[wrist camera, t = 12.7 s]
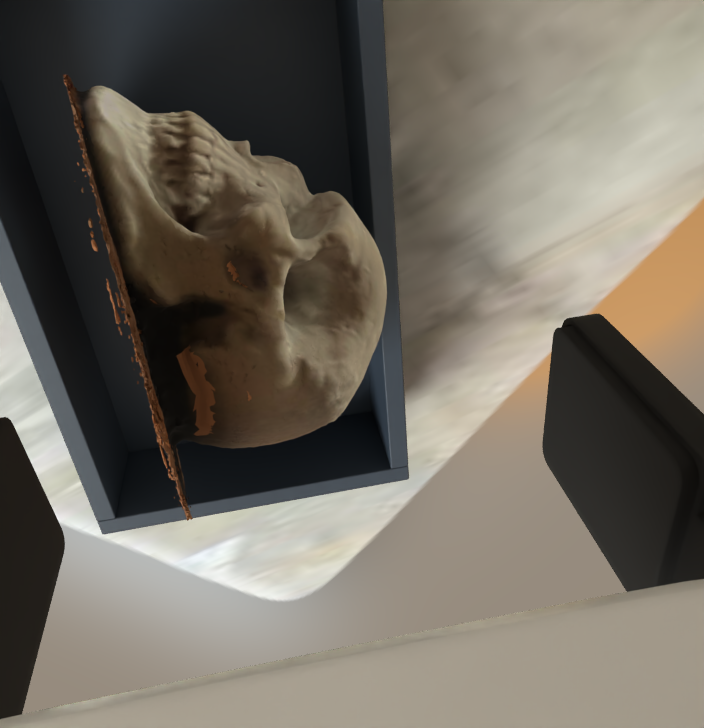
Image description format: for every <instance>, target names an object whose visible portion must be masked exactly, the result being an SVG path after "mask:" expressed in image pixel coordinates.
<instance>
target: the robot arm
mask: <svg viewBox="0 0 704 728" xmlns="http://www.w3.org/2000/svg"><path fill="white" fill-rule="evenodd" d="M543 454H544V458H545V460H546V463H547V465H548V466H549V468H550V470H551V471H552V473H553V474H554V476H555V478H556V479H557V481H558V482H559V484H560V486H561V487H562V489H563V490H564V492H565V494H566V495H567V497H568V498H569V500H570V501H571V503H572V504H573V506H574V508H575V509H576V511H577V513H578V514H579V516H580V517H581V519H582V521H583V522H584V524H585V525H586V527H587V529H588V530H589V532H590V533H591V535H592V536H593V538H594V540H595V541H596V543H597V545H598V546H599V548H600V549H601V551H602V553H603V554H604V556H605V557H606V559H607V561H608V562H609V564H610V565H611V567H612V569H613V570H614V572H615V573H616V575H617V577H618V578H619V580H620V581H621V583H622V585H623V586H624V588H625V589H626V591H627V592H623V593H618V594H613V595H607V596H601V597H595V598H590V599H585V600H580V601H575V602H569V603H565V604H560V605H554V606H550V607H544V608H539V609H534V610H529V611H524V612H518V613H513V614H509V615H503V616H498V617H494V618H488V619H483V620H478V621H473V622H468V623H463V624H457V625H453V626H447V627H442V628H437V629H433V630H427V631H422V632H417V633H412V634H407V635H402V636H397V637H392V638H387V639H383V640H378V641H372V642H367V643H363V644H358V645H353V646H348V647H343V648H338V649H333V650H328V651H323V652H318V653H313V654H308V655H304V656H299V657H294V658H288V659H284V660H279V661H274V662H269V663H264V664H259V665H254V666H250V667H244V668H239V669H234V670H230V671H225V672H220V673H215V674H211V675H205V676H201V677H196V678H191V679H186V680H181V681H177V682H172V683H167V684H162V685H157V686H153V687H148V688H143V689H138V690H134V691H128V692H124V693H119V694H114V695H109V696H104V697H100V698H95V699H90V700H85V701H80V702H76V703H71V704H66V705H62V706H57V707H53V708H48V709H44V710H39V711H35V712H31V713H26V714H22V711H23V708H24V704H25V700H26V696H27V692H28V688H29V684H30V680H31V676H32V673H33V669H34V665H35V661H36V658H37V654H38V649H39V646H40V642H41V638H42V635H43V631H44V627H45V623H46V619H47V615H48V612H49V608H50V604H51V600H52V596H53V592H54V588H55V585H56V581H57V577H58V573H59V569H60V565H61V562H62V558H63V554H64V547H65V542H64V535H63V531H62V528H61V526H60V524H59V522H58V520H57V518H56V516H55V513H54V511H53V509H52V507H51V505H50V503H49V501H48V498H47V496H46V494H45V492H44V490H43V488H42V486H41V483H40V481H39V479H38V477H37V475H36V473H35V471H34V468H33V466H32V464H31V462H30V460H29V458H28V456H27V453H26V451H25V449H24V447H23V445H22V443H21V441H20V438H19V436H18V434H17V432H16V430H15V428H14V426H13V424H12V422H11V420H9V419H8V418H6V417H3V418H0V728H704V414H703V413H702V412H701V411H700V410H699V409H698V408H697V407H696V406H694V404H692V402H691V401H690V400H688V399H687V398H686V397H685V396H684V395H683V394H682V393H681V392H680V391H679V390H678V389H677V388H676V387H675V386H674V385H673V384H672V383H671V382H670V381H669V380H668V379H667V378H666V377H665V376H664V375H663V374H662V373H661V372H660V371H659V370H658V369H657V368H656V367H655V366H654V365H653V364H652V363H650V362H649V361H648V360H647V359H646V358H645V357H644V356H643V355H642V354H641V353H640V352H639V351H638V350H637V349H636V348H635V347H634V346H633V345H632V344H631V343H630V342H629V341H628V340H627V339H626V338H625V337H624V336H623V335H622V334H621V333H620V332H619V331H618V330H617V329H616V328H615V327H614V326H612V325H611V324H610V323H609V322H608V321H607V320H606V319H605V318H604V317H603V316H602V315H600V314H591V315H585V316H579V317H573V318H567V319H566V320H565V321H564V323H563V325H562V327H561V328H557V329H556V330H555V332H554V335H553V344H552V354H551V364H550V374H549V384H548V395H547V405H546V414H545V424H544V435H543Z"/></svg>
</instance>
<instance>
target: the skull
mask: <svg viewBox="0 0 704 728" xmlns="http://www.w3.org/2000/svg"><path fill="white" fill-rule="evenodd" d="M63 77H64V84H65V85H66V87H67V91H68V95H69V99H70V103H71V107H72V111H73V115H74V125H75V127H74V128H75V129H76V130H77V133H78V134H79V137H80V139H81V143H80V140H78V142H79V143H80V145H79V146H80V148H81V150H83V154H82V156H83V158H84V160H83V162H84V165H85V166H86V167H87V168H86V169H85V168H83V169H82V171H87V172H88V175H89V176H90V179H89V183H90V185H91V186H92V188H93V191H92V192H94V196H95V197H96V202H95V203H96V206H97V207H98V208H97V211H98V214H99V216H100V221H99V223H100V224H101V230H102V231H103V238H104V240H105V242H106V247H107V249H108V253H109V260H110V264H111V266H112V269H113V271H114V273H115V276H116V280H117V284H118V289H119V291H120V295H121V301H122V303H123V306H122V305H121V302H120V298H119V296H118V293H116V296H117V302H118V306H119V307H122V308H124V309H125V311H121V312H122V314H123V312H124V314H125V318H126V321H125V320H124V323H125V324H126V323H127V322H128V325H129V326H130V331H131V333H132V334H131V336H132V337H133V343H134V345H135V346H134V350H135V353H136V354H135V355H134V356H135V357H136V361H137V362H139V364H140V368H141V370H142V373H139V374H140V376H143V378H144V387H145V389H146V391H147V395H148V396H147V397H148V400H149V403H150V409H151V411H152V420H153V423H154V428H155V431H156V432H155V433H156V434H157V435H158V436H156V437H157V442H158V444H159V447H160V451H161V454H162V458H163V461H164V464H165V466H166V469H167V468H168V466H167V462H166V458H165V456H164V453H163V449H162V448H164V451H165V454H166V455H167V457H168V459H167V460H168V461H169V466H170V467H171V471H172V472H171V474H172V475H173V477H172V475H171V474H170V469H168V476H169V478H172V479H171V480H175V481H176V484H177V486H176V488H177V491H178V494H179V497H180V500H179V502H181V504H182V506H183V507H182V509H184V512H185V516H186V517H187V520H189V519H192V516H191V514H190V512H191V511H190V510H189V508H188V504H187V498H188V500H189V497H186V491H185V482H184V479H183V478H184V477H183V474H182V470H181V466H180V461H179V456H178V453H177V451H178V450H177V448H176V444H177V443H179V442H180V441H182V440H188V441H193V442H196V443H198V444H202V445H212V446H216V447H221V448H231V449H233V448H247V447H258V446H264V445H271V444H276V443H280V442H283V441H287V440H291V439H295V438H298V437H300V436H303V435H305V434H308V433H311V432H313V431H315V430H317V429H318V428H320V427H322V426H325V425H327V424H328V423H330V422H333V421H335V420H336V419H337V418H338V417H339V416H340V415H341V413H342V412H344V410H345V409H346V407H347V406H348V404H349V402H350V401H351V399H352V397H353V396H354V394H355V392H356V390H357V389H358V387H359V385H360V383H361V382H362V380H363V378H364V375H365V372H366V370H367V367H368V365H369V362H370V360H371V357H372V355H373V353H374V351H375V348H376V346H377V343H378V341H379V338H380V335H381V331H382V328H383V322H384V316H385V308H386V299H387V285H386V276H385V270H384V265H383V261H382V257H381V255H380V252H379V250H378V247H377V246H376V243H375V241H374V239H373V238H372V236H371V234H370V233H369V231H368V230H367V229H366V227H365V226H364V225H363V223H362V221H361V220H360V218H359V217H358V216H357V214H356V212H355V211H354V210H353V208H352V207H351V206H350V204H349V203H348V202H347V201H346V199H345V198H344V197H343V196H341V195H340V194H339V193H337V192H333V191H328V192H325V193H317V194H315V195H312V194H311V193H310V192H309V191H308V188H307V186H306V184H305V181H304V178H303V176H302V173H301V171H300V170H299V168H298V167H297V166H296V165H293V164H292V163H291V162H287V161H285V160H284V159H281V158H278V157H274V156H258V155H257V156H252V155H251V153H250V144H249V142H248V141H247V140H246V141H228V140H227V139H225V138H224V137H223V136H222V135H221V134H220V133H219V132H218V131H217V130H216V129H215V128H214V127H212V126H211V125H210V124H209V123H208V122H206V121H205V120H204V119H203V118H201V117H200V116H198V115H197V114H195V113H193V112H191V111H183V112H178V113H174V112H171V113H155V114H153V113H146V112H145V111H143V110H142V109H140V108H139V107H138V106H136V105H135V104H133V103H132V102H131V101H129V100H128V99H126V98H124V97H123V96H122V95H120V94H119V93H117V92H115V91H113V90H112V89H109V88H106V87H104V86H94V87H91V89H88V90H87V91H84V92H82V91H76V90H77V88H76V87H74V85H73V82H72V80H71V78H70V77H69V76H68V75H67V74H64V75H63ZM77 164H78V166H79V163H78V162H77ZM85 177H86V175H85ZM74 182H75V181H74ZM83 189H84V188H83V187H82V189H81V191H82V193H84V192H83ZM88 223H89V227H90V228H92V227H93V224H92V220H91V219H90V218H89V220H88ZM90 235H91V237H92V238H93V237H94V233H93V232H92V231H91V233H90ZM91 243H92V248H93V249H94V250H95V251H97V252H98V247H97V245H96V242H95V241H94V240H93V239H92V240H91ZM106 280H107V290H108V291H109V292H110V300H111V302H112V304H113V309H114V313H115V319H116V323H117V324H119V322H121V321H120V317H119V314H118V312H117V310H116V307H115V303H114V301H113V298H112V293H111V289H110V286H109V281H108V279H106ZM118 329H119V331H120V334H121V335H122V332H121V329H120V327H119V326H118ZM128 337H129V339H130V335H128ZM132 362H133V357H132ZM134 370H135V369H134ZM137 384H139V381H137ZM162 442H163V444H162ZM161 445H162V446H164V447H161ZM174 498H175V497H174ZM190 508H191V506H190Z"/></svg>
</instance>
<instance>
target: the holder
mask: <svg viewBox="0 0 704 728" xmlns="http://www.w3.org/2000/svg"><path fill="white" fill-rule="evenodd" d="M64 74H67V75H68V76H69V77H70V78H71V80H72V82H73V85H74V87H76V88H77V90H76V91H82V92H84V91H87V90H88V89H91V87H94V86H104V87H106V88H109V89H112V90H113V91H115V92H117V93H119V94H120V95H122V96H123V97H124V98H126V99H128V100H129V101H131V102H132V103H133V104H135V105H136V106H138V107H139V108H140V109H142V110H143V111H145V112H146V113H153V114H155V113H171V112H174V113H178V112H183V111H191V112H193V113H195V114H197V115H198V116H200V117H201V118H203V119H204V120H205V121H206V122H208V123H209V124H210V125H211V126H212V127H214V128H215V129H216V130H217V131H218V132H219V133H220V134H221V135H222V136H223V137H224V138H225V139H227V140H228V141H246V140H247V141H248V142H249V144H250V153H251V155H252V156H257V155H258V156H274V157H278V158H281V159H284V160H285V161H287V162H291V163H292V164H293V165H296V166H297V167H298V168H299V170H300V171H301V173H302V176H303V178H304V181H305V184H306V186H307V188H308V191H309V192H310V193H311V194H312V195H315V194H317V193H325V192H328V191H333V192H337V193H339V194H340V195H341V196H343V197H344V198H345V199H346V201H347V202H348V203H349V204H350V206H351V207H352V208H353V210H354V211H355V212H356V214H357V216H358V217H359V218H360V220H361V221H362V223H363V225H364V226H365V227H366V229H367V230H368V231H369V233H370V234H371V236H372V238H373V239H374V241H375V243H376V246H377V247H378V250H379V252H380V255H381V257H382V261H383V265H384V270H385V276H386V285H387V299H386V308H385V316H384V322H383V328H382V331H381V335H380V338H379V341H378V343H377V346H376V348H375V351H374V353H373V355H372V357H371V360H370V362H369V365H368V367H367V370H366V372H365V375H364V378H363V380H362V382H361V383H360V385H359V387H358V389H357V390H356V392H355V394H354V396H353V397H352V399H351V401H350V402H349V404H348V406H347V407H346V409H345V410H344V412H342V413H341V415H340V416H339V417H338V418H337V419H336V420H335V421H333V422H330V423H328V424H327V425H325V426H322V427H320V428H318V429H317V430H315V431H313V432H311V433H308V434H305V435H303V436H300V437H298V438H295V439H291V440H287V441H283V442H280V443H276V444H271V445H264V446H258V447H247V448H233V449H231V448H221V447H216V446H212V445H202V444H198V443H196V442H193V441H188V440H182V441H180V442H179V443H177V444H176V448H177V450H178V451H177V453H178V456H179V461H180V466H181V470H182V474H183V477H184V478H183V479H184V482H185V491H186V497H189V500H188V498H187V504H188V508H189V510H190V511H191V512H190V514H191V516H192V518H197V517H202V516H208V515H213V514H219V513H224V512H230V511H236V510H241V509H247V508H252V507H258V506H263V505H269V504H274V503H280V502H285V501H291V500H296V499H302V498H307V497H313V496H318V495H324V494H329V493H335V492H340V491H346V490H352V489H357V488H363V487H368V486H374V485H379V484H385V483H390V482H396V481H401V480H407V479H409V471H408V453H407V435H406V416H405V398H404V380H403V362H402V343H401V325H400V307H399V289H398V271H397V252H396V234H395V216H394V198H393V180H392V161H391V143H390V125H389V107H388V88H387V70H386V52H385V34H384V16H383V0H0V282H1V285H2V287H3V290H4V292H5V295H6V297H7V300H8V302H9V304H10V307H11V309H12V312H13V314H14V317H15V319H16V322H17V324H18V327H19V329H20V332H21V334H22V337H23V339H24V342H25V344H26V347H27V349H28V351H29V354H30V356H31V359H32V361H33V364H34V366H35V369H36V371H37V374H38V376H39V379H40V381H41V384H42V386H43V389H44V391H45V394H46V396H47V398H48V401H49V403H50V406H51V408H52V411H53V413H54V416H55V418H56V421H57V423H58V426H59V428H60V431H61V433H62V436H63V438H64V441H65V443H66V445H67V448H68V450H69V453H70V455H71V458H72V460H73V463H74V465H75V468H76V470H77V473H78V475H79V478H80V480H81V483H82V485H83V488H84V490H85V492H86V495H87V497H88V500H89V502H90V505H91V507H92V510H93V512H94V515H95V517H96V520H97V521H98V524H99V527H100V529H101V532H102V534H108V533H114V532H119V531H125V530H131V529H136V528H142V527H147V526H153V525H158V524H164V523H169V522H175V521H180V520H186V519H187V517H186V516H185V512H184V509H182V507H183V506H182V504H181V502H179V500H180V497H179V494H178V491H177V488H176V486H177V484H176V481H175V480H171V479H172V478H169V476H168V469H170V474H171V472H172V471H171V467H170V466H169V461H168V460H167V459H168V457H167V455H166V454H165V451H164V448H162V449H163V453H164V456H165V458H166V462H167V466H168V468H167V469H166V466H165V464H164V461H163V458H162V454H161V451H160V447H159V444H158V442H157V437H156V436H158V435H157V434H156V433H155V432H156V431H155V428H154V423H153V420H152V411H151V409H150V403H149V400H148V397H147V396H148V395H147V391H146V389H145V387H144V378H143V376H140V374H139V373H142V370H141V368H140V364H139V362H137V361H136V357H135V356H134V355H135V354H136V353H135V350H134V346H135V345H134V343H133V337H132V336H131V334H132V333H131V331H130V326H129V325H128V322H127V323H126V324H125V323H124V320H125V321H126V318H125V314H124V312H123V314H122V312H121V311H125V309H124V308H122V307H119V306H118V302H117V296H116V293H118V296H119V298H120V302H121V305H122V306H123V303H122V301H121V295H120V291H119V289H118V284H117V280H116V276H115V273H114V271H113V269H112V266H111V264H110V260H109V253H108V249H107V247H106V242H105V240H104V238H103V231H102V230H101V224H100V223H99V221H100V216H99V214H98V211H97V208H98V207H97V206H96V203H95V202H96V197H95V196H94V192H92V191H93V188H92V186H91V185H90V183H89V179H90V176H89V175H88V172H87V171H82V169H83V168H85V169H86V168H87V167H86V166H85V165H84V162H83V160H84V158H83V156H82V154H83V150H81V148H80V146H79V145H80V143H81V139H80V137H79V134H78V133H77V130H76V129H75V128H74V127H75V125H74V115H73V111H72V107H71V103H70V99H69V95H68V91H67V87H66V85H65V84H64V77H63V75H64ZM78 140H80V143H79V142H78ZM77 162H78V163H79V166H78V164H77ZM85 175H86V177H85ZM74 181H75V182H74ZM82 187H83V188H84V189H83V192H84V193H82V191H81V189H82ZM89 218H90V219H91V220H92V224H93V227H92V228H90V227H89V223H88V220H89ZM91 231H92V232H93V233H94V237H93V238H92V237H91V235H90V233H91ZM92 239H93V240H94V241H95V242H96V245H97V247H98V252H97V251H95V250H94V249H93V248H92V243H91V240H92ZM106 279H108V281H109V286H110V289H111V293H112V298H113V301H114V303H115V307H116V310H117V312H118V314H119V317H120V321H121V322H119V324H117V323H116V319H115V313H114V309H113V304H112V302H111V300H110V292H109V291H108V290H107V280H106ZM118 326H119V327H120V329H121V332H122V335H121V334H120V331H119V329H118ZM128 335H130V339H129V337H128ZM132 357H133V362H132ZM134 369H135V370H134ZM137 381H139V384H137ZM162 444H163V442H162ZM161 447H164V446H162V445H161ZM171 475H172V474H171ZM172 477H173V475H172ZM174 497H175V498H174ZM190 506H191V508H190Z"/></svg>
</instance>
